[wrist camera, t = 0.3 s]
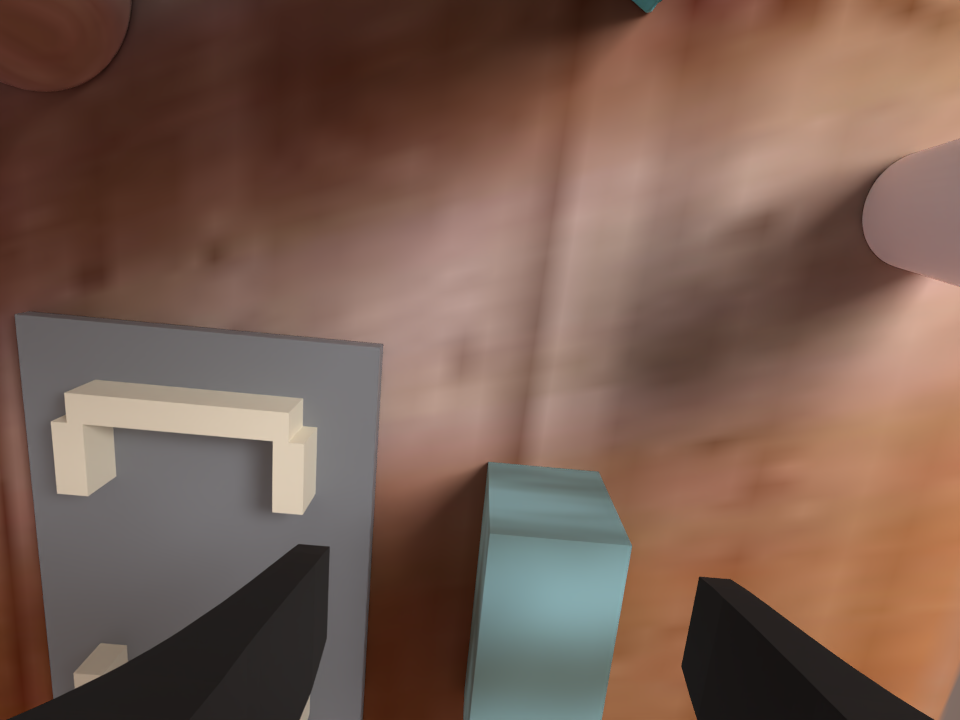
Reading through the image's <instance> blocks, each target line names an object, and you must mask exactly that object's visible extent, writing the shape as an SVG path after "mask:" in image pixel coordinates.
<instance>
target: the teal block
mask: <svg viewBox="0 0 960 720" xmlns="http://www.w3.org/2000/svg"><path fill="white" fill-rule="evenodd" d="M631 549H632V545H631V543H630V540H629V538H628V536H627V534H626V531H625V529H624V527H623V525H622V523H621V520H620V518H619V516H618V514H617V512H616V509H615V507H614V505H613V503H612V501H611V498H610V496H609V494H608V492H607V489H606V487H605V485H604V483H603V481H602V478H601V476H600V474H599V472H595V471H584V470H573V469H562V468H550V467H539V466H528V465H516V464H505V463H494V462H488V470H487V479H486V489H485V499H484V508H483V518H482V527H481V537H480V547H479V556H478V566H477V575H476V585H475V595H474V604H473V614H472V623H471V633H470V643H469V652H468V662H467V671H466V681H465V691H464V714H463V720H602V714H603V708H604V703H605V697H606V691H607V686H608V680H609V674H610V668H611V663H612V657H613V651H614V646H615V640H616V634H617V629H618V623H619V617H620V611H621V606H622V600H623V594H624V589H625V583H626V577H627V572H628V566H629V560H630V554H631Z"/></svg>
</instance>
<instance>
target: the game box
mask: <svg viewBox="0 0 960 720" xmlns="http://www.w3.org/2000/svg"><path fill="white" fill-rule="evenodd" d="M632 1H633V2H634V3H636V4H637V5H638V6H639V7H640V8H641V9H642V10H644V11H645V12H646V13H648V12H651V11H652V10H653V9H654V8H655V6H656V5H657V3H659V2H661V1H662V0H632Z"/></svg>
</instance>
